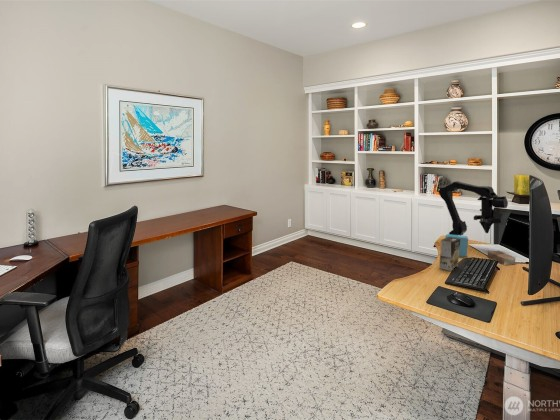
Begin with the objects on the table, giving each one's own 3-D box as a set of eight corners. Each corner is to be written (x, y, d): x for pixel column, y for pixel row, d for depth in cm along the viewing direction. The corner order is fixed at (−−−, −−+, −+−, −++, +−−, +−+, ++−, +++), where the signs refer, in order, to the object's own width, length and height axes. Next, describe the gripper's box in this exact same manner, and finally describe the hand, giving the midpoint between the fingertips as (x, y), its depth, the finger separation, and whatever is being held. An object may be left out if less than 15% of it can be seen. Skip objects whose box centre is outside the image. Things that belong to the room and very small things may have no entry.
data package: (466, 255, 204) (468, 235, 201) (466, 257, 200) (468, 238, 197) (443, 252, 209) (445, 233, 206) (443, 254, 205) (445, 235, 202)
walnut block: (487, 251, 198) (504, 258, 186) (498, 250, 199) (515, 257, 187) (487, 257, 199) (503, 265, 187) (497, 257, 200) (515, 264, 188)
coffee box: (451, 271, 180) (453, 242, 176) (438, 268, 184) (441, 239, 181) (458, 267, 186) (460, 238, 182) (446, 263, 190) (448, 236, 187)
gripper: (510, 208, 196) (510, 234, 197) (490, 205, 214) (490, 230, 216) (491, 209, 196) (491, 236, 197) (473, 206, 215) (473, 231, 216)
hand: (486, 233), depth 207 cm, fingers closed
